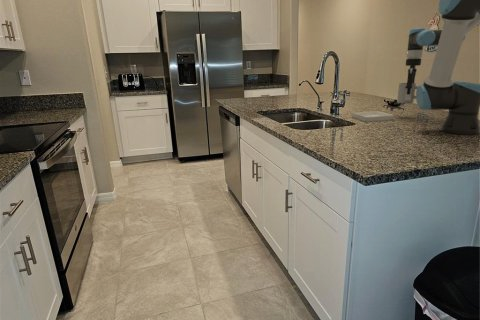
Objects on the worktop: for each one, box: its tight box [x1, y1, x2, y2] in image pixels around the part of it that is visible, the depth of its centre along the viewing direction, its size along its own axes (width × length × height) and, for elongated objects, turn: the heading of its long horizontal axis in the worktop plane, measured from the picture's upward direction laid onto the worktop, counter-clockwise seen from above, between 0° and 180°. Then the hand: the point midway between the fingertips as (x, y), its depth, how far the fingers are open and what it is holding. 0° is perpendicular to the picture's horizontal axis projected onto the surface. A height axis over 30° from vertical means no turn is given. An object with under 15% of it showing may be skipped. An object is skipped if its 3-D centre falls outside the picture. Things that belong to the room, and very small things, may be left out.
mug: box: [396, 82, 419, 104], centre depth 180 cm, size 12×8×11 cm
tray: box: [351, 110, 395, 123], centre depth 186 cm, size 18×16×3 cm
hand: (408, 99), depth 182 cm, fingers closed on mug, 8 cm apart
